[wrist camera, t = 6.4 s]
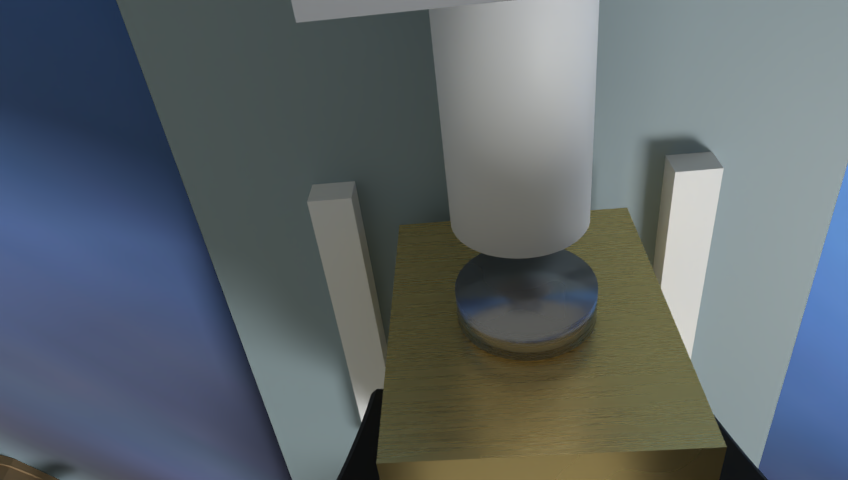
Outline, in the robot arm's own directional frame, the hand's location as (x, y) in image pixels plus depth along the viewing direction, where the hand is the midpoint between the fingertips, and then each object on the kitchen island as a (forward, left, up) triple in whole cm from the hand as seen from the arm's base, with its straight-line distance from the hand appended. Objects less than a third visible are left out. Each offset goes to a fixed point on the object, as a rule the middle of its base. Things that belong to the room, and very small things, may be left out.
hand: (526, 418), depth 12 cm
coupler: (0, 0, -2) cm, 2 cm away
